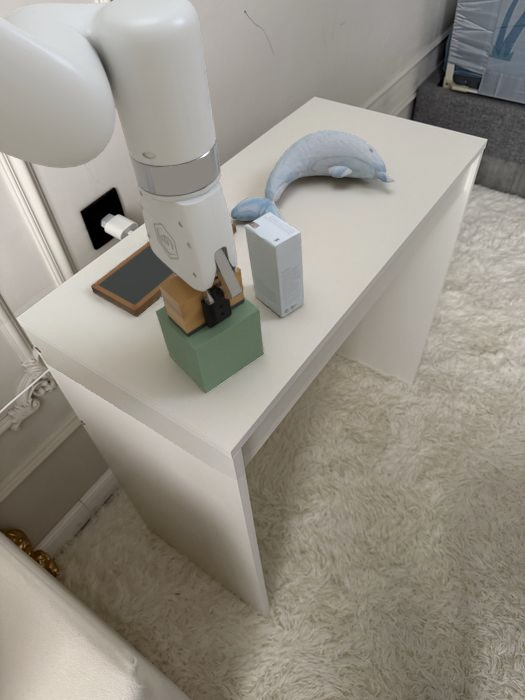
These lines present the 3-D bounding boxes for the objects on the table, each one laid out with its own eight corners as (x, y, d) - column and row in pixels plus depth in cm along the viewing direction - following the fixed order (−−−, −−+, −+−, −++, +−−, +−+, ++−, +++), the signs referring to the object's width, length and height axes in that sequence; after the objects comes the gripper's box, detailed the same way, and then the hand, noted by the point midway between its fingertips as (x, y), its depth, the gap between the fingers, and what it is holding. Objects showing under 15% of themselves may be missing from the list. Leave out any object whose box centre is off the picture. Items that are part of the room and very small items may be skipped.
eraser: (188, 337, 57) (179, 305, 54) (168, 318, 60) (158, 285, 56) (245, 302, 60) (240, 269, 57) (224, 284, 62) (219, 252, 59)
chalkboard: (137, 316, 71) (134, 310, 70) (93, 292, 75) (90, 286, 74) (236, 231, 82) (235, 225, 81) (193, 213, 86) (192, 207, 85)
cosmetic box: (305, 304, 71) (305, 230, 62) (280, 320, 69) (276, 247, 60) (276, 281, 74) (271, 208, 65) (251, 296, 72) (243, 224, 63)
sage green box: (205, 393, 62) (194, 350, 56) (169, 355, 66) (155, 311, 60) (263, 353, 66) (259, 309, 60) (225, 319, 70) (217, 274, 64)
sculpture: (315, 280, 80) (402, 185, 89) (317, 248, 73) (411, 148, 82) (227, 229, 86) (316, 144, 95) (221, 194, 79) (318, 107, 88)
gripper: (94, 145, 49) (141, 288, 63) (195, 222, 40) (224, 369, 54) (161, 116, 52) (192, 260, 66) (270, 183, 43) (279, 332, 57)
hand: (206, 308), depth 60 cm, fingers closed on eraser, 4 cm apart
